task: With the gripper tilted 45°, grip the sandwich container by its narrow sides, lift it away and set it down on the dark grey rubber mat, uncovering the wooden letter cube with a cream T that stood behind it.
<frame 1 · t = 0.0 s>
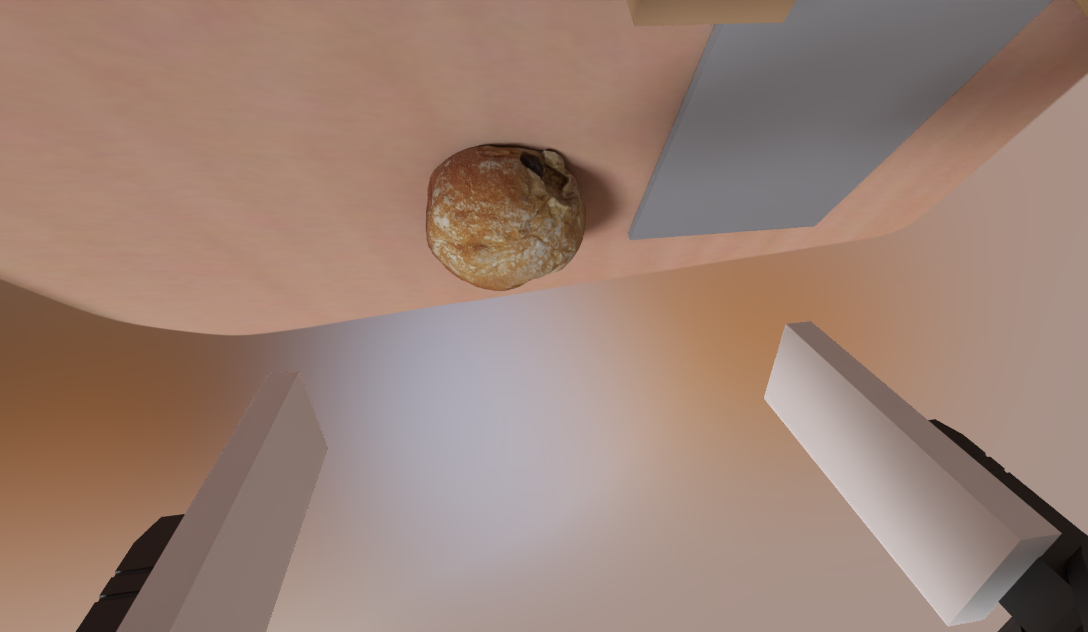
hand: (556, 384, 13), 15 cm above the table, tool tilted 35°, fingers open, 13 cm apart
grey rubber mat: (793, 128, 27), on the table
bread roll: (501, 195, 30), on the table
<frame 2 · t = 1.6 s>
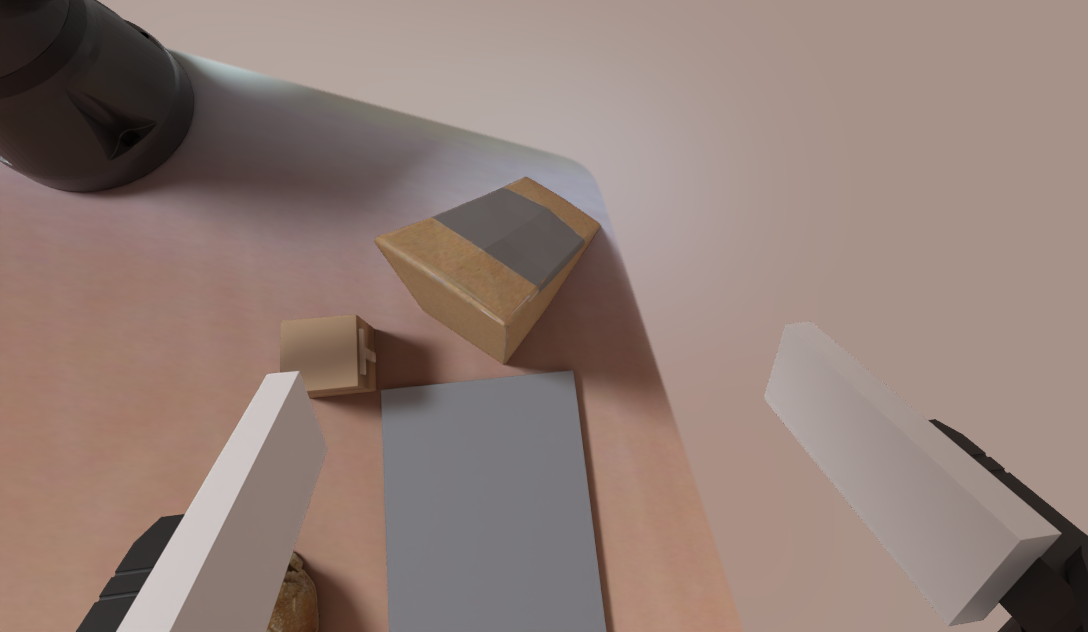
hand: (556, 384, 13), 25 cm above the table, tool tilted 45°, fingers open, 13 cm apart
wooden letter cube: (342, 362, 37), on the table
grey rubber mat: (490, 513, 35), on the table
bread roll: (251, 624, 32), on the table
sandwich container: (516, 266, 40), on the table
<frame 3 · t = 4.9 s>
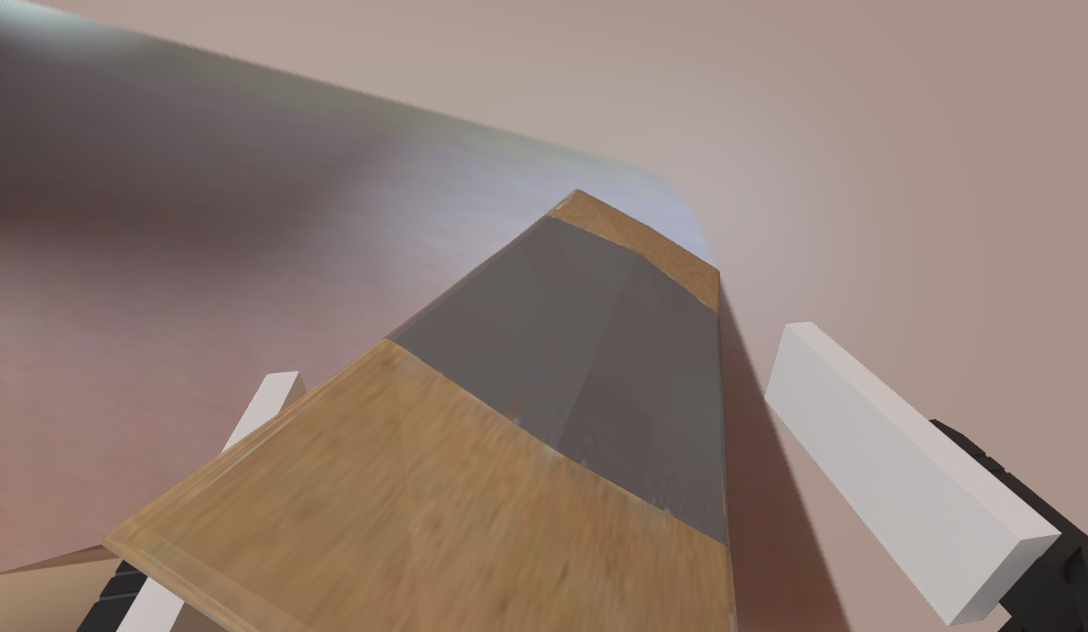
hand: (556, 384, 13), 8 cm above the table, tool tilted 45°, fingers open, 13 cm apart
wooden letter cube: (193, 599, 18), on the table
sandwich container: (571, 360, 21), on the table
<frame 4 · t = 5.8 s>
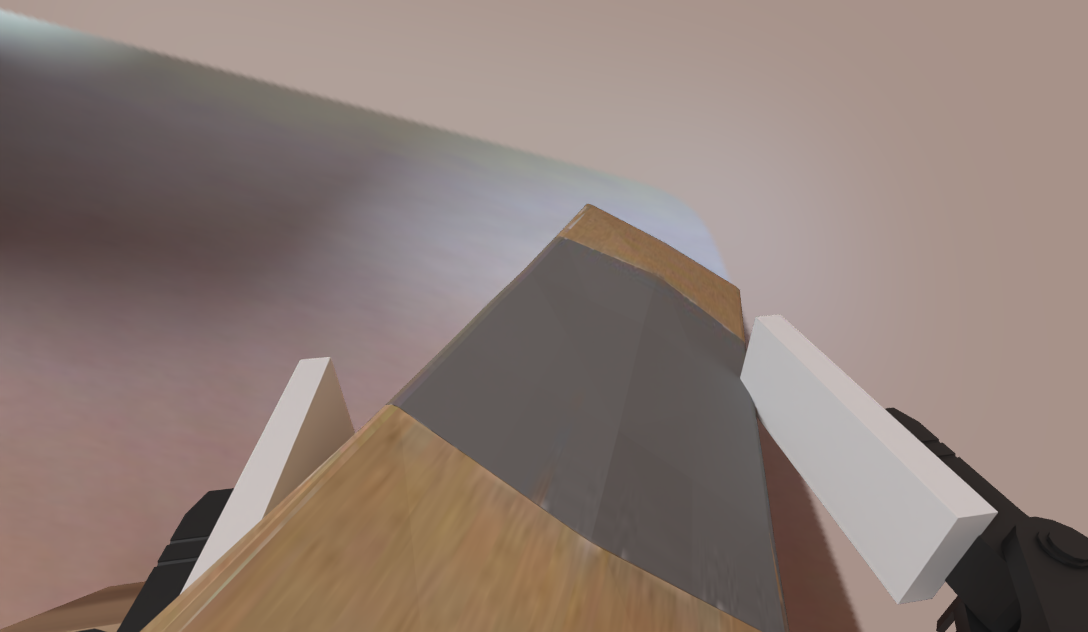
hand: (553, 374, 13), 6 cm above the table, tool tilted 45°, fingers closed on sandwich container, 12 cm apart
sandwich container: (585, 387, 20), on the table, touching gripper
when the fingers open (8 cm above the table, at t = 12.5 s): sandwich container stays where it is, resting on grey rubber mat.
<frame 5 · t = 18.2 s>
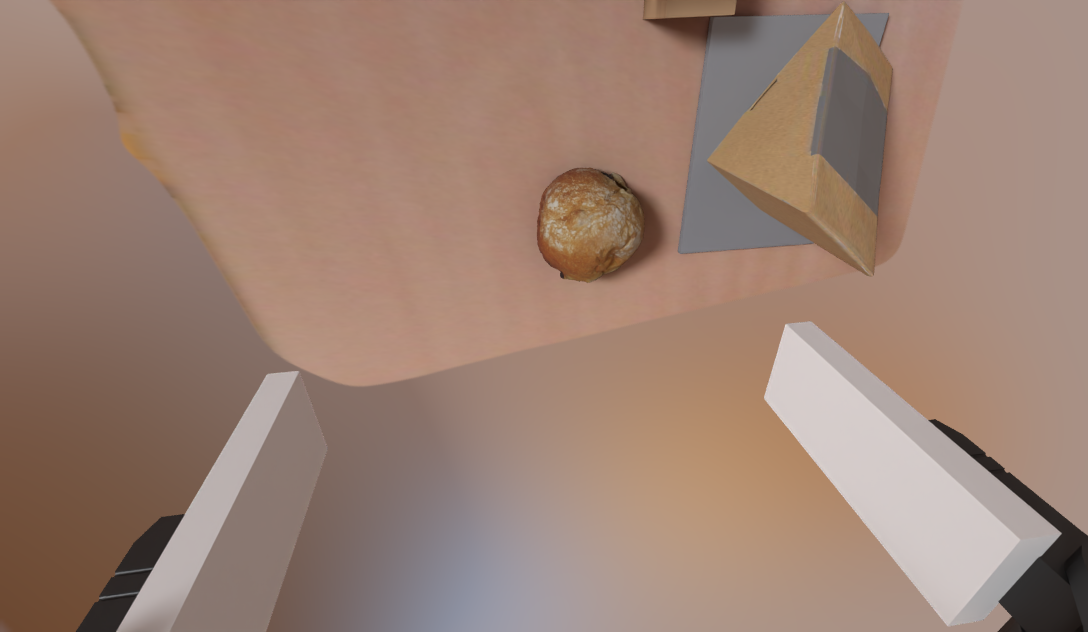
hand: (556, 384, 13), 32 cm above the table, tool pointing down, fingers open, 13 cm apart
grey rubber mat: (770, 144, 43), on the table
bread roll: (583, 221, 45), on the table
sandwich container: (796, 115, 42), resting on grey rubber mat
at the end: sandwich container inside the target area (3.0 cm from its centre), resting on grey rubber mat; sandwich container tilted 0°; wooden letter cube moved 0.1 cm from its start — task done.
